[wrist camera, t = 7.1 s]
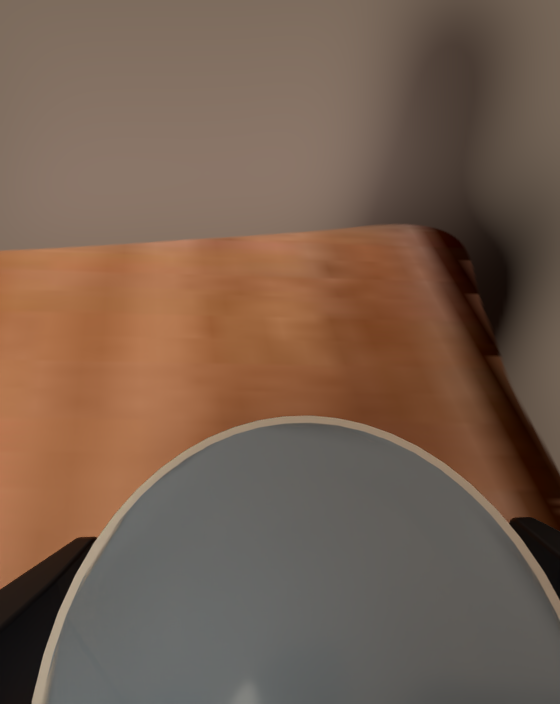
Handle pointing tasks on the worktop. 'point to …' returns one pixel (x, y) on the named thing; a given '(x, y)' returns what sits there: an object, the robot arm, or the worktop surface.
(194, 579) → the canister
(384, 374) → the worktop surface
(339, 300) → the worktop surface
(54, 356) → the worktop surface
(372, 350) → the worktop surface
